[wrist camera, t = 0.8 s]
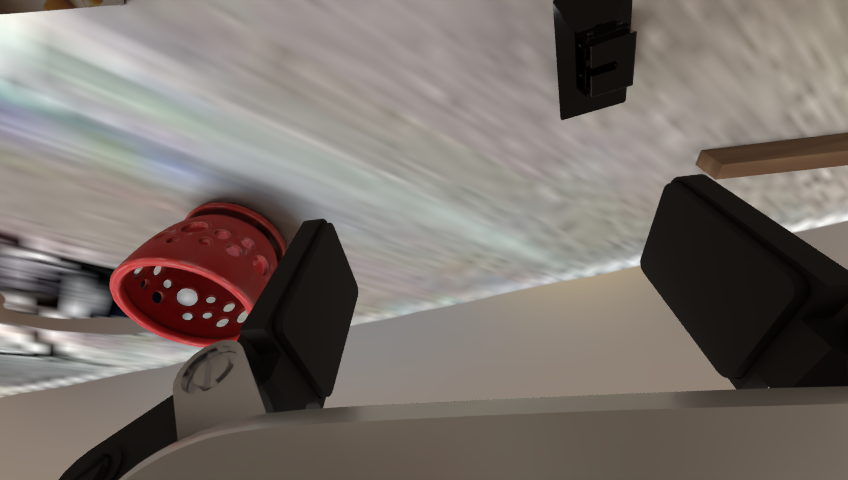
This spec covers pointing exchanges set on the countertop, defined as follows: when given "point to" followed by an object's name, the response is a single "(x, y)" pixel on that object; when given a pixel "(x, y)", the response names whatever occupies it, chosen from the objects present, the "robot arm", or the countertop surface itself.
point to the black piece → (593, 53)
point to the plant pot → (200, 273)
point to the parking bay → (775, 157)
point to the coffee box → (50, 5)
